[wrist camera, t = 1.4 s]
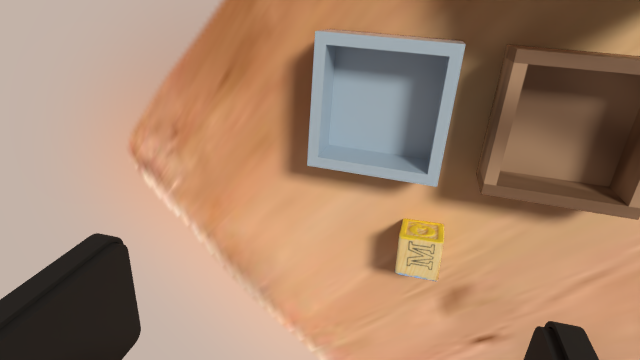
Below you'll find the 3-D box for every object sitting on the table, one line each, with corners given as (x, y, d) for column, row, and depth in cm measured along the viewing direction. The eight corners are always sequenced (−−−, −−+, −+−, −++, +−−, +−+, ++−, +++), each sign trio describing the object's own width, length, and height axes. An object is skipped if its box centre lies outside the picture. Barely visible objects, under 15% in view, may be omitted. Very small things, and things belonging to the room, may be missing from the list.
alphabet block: (398, 252, 32) (394, 275, 29) (402, 217, 30) (398, 236, 28) (438, 259, 31) (438, 282, 28) (444, 222, 30) (444, 243, 27)
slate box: (437, 167, 28) (437, 186, 25) (320, 149, 30) (307, 165, 27) (462, 40, 25) (465, 44, 22) (329, 28, 27) (315, 30, 24)
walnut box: (614, 195, 26) (638, 219, 23) (476, 173, 28) (481, 194, 25) (667, 58, 23) (704, 65, 19) (507, 44, 24) (517, 49, 21)
